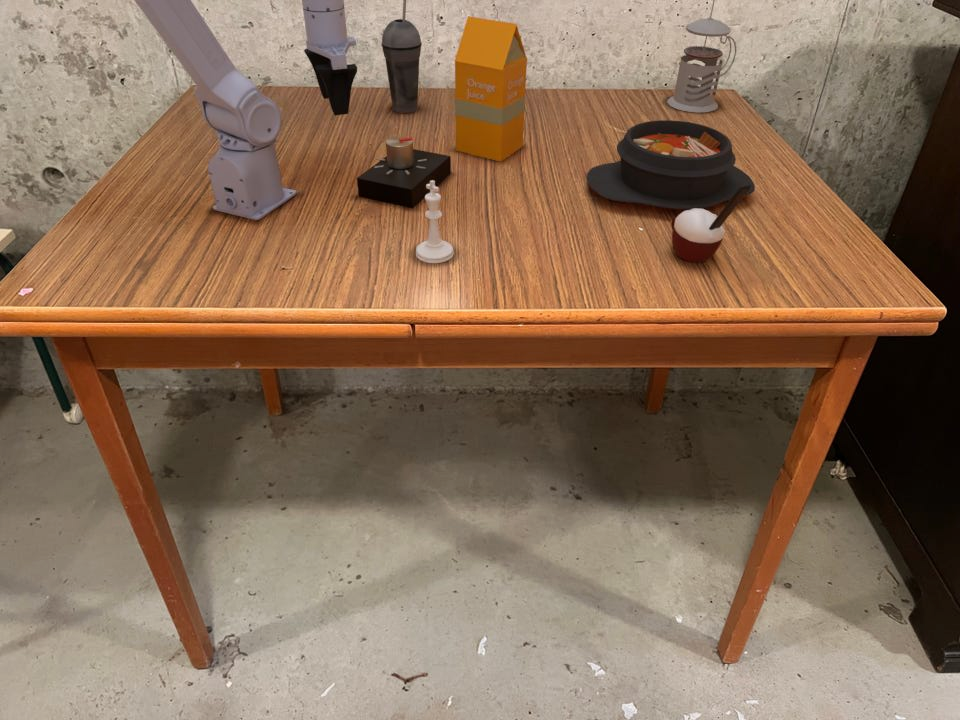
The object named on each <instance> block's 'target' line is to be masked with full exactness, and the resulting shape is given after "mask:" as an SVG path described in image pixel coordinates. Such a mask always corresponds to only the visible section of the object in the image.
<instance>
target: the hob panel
mask: <svg viewBox="0 0 960 720" xmlns="http://www.w3.org/2000/svg"><path fill="white" fill-rule="evenodd" d="M413 151H414V165H413V166H412V167H410V168H406V169H394V168H391V167H389V166H388V164H387V155H385V156H384V157H383V158H380V157H379V158H378V157H377V158H376V161H377V162H376V163H375V164H373V165H372V166H371V167H370V168H369V169H367V170H365V171H364V172H363V173H361V174H360V175H359V176H357V177H356V184H357V185H356V186H357V194H358V195H357V196H358V198H362V199H367V200H372V201H375V202H380V203H385V204H389V205H395V206H399V207H404V208H408V209H414V208H415V207H416V206H417V205H418V204H419V203H420V202H422V201H423V200H425V195H426V194H428V193H430V189H427V188H426V185H427V184H430V181H431V180H433V181H435V186H436V187H438V186H439V185H441V184H442V183H443V182H444V181H445V180H446V179H448V177H450V176H451V175H452V165H451V164H452V163H451V162H452V161H451V159H452V158H451V155H448V154H447V155H446V154H442V153H436V152H431V151H425V150H421V149H417V148H416V149H415V148H413Z"/></svg>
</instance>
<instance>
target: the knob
mask: <svg viewBox="0 0 960 720" xmlns="http://www.w3.org/2000/svg"><path fill="white" fill-rule="evenodd" d="M413 149H414V140H413V137H412V136H403V135H399V136H398V135H397V136H392V137H389V138H387V139H386V140H385V151H386V156H387V164H388V166H389V167H391V168H394V169H406V168H410V167H412V166H413V165H414V151H413Z"/></svg>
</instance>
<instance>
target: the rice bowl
mask: <svg viewBox="0 0 960 720" xmlns="http://www.w3.org/2000/svg"><path fill="white" fill-rule="evenodd" d="M750 187H751V186H750V185H746V186H741V187H739V189H738V190H737V191H736V193H735V194H734V195H733V197H732V198H731V199H729V200H728V202H727V203H726V205H725V206H724V207H723V208H722V210H721V211H720V212H719V214H718V215H717V214H714V213H712V212H711V211H709V210H708V209H707V210H706V209H704V208H694V209H684V211H682V212H681V213H679V214H678V215H677V216H676V217H673V218H672V220H671V224H670V225H671V246H672V249H673V252H674V253H675V254H676V256H678V257H679V258H680V259H682V260H683V261H686V262H690V263H702V262H706V261H708V260H710V259H711V258H713V256H714V255H715V254H716V252H717V251H718V250H719V248H720V247H721V244H722V242H723V239H724V237H725V236H726V233H727V231H726V230H725V228H724V226H723V224H724V223H725V221H726V220H727V219H728V217H729V216H730V215H731V213H733V211H734V210H735V209H736V208H737V207H738V205H739V204H740V202H741V201H742V200H743V198H744V197H745V194H746V193H747V192H748V191H749V189H750Z"/></svg>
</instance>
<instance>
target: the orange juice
mask: <svg viewBox="0 0 960 720" xmlns="http://www.w3.org/2000/svg"><path fill="white" fill-rule="evenodd" d="M527 63H528V56H527V54H526V52H525V48H524V45H523V41H522V38H521V35H520V31H519V28H518V24H517V23H514V22H513V23H512V22H507V21H501V20H494V19H489V18H488V19H487V18H482V17H475V16H468V15H467V17H466V21H465V24H464V28H463V31H462V36H461V38H460V42H459V44H458V48H457V51H456V55H455V58H454V80H455V81H454V90H455V91H454V92H455V93H454V95H455V97H454V116H455V151H457V152H460V153H465V154H468V155H472V156H476V157H479V158H484V159H488V160H493V161H496V162H500V163H501V162H502V161H504V160H505V159H507V158H509V157H510V156H511V155H513V154H514V153H516V152H518V150H520V149H521V148H523V144H524V143H523V141H524V126H525V125H524V124H525V122H524V121H525V112H526V111H525V109H526V86H527V85H526V84H527V65H528V64H527Z"/></svg>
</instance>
